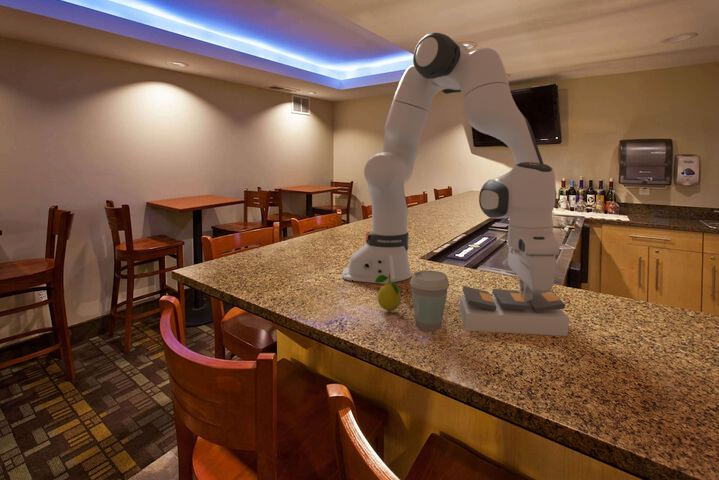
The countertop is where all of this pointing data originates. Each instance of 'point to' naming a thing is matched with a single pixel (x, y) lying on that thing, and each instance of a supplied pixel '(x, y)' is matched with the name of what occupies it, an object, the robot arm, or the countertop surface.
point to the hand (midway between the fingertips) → (525, 297)
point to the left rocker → (479, 298)
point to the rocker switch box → (513, 320)
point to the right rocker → (545, 302)
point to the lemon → (388, 294)
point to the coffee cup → (429, 299)
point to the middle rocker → (510, 299)
